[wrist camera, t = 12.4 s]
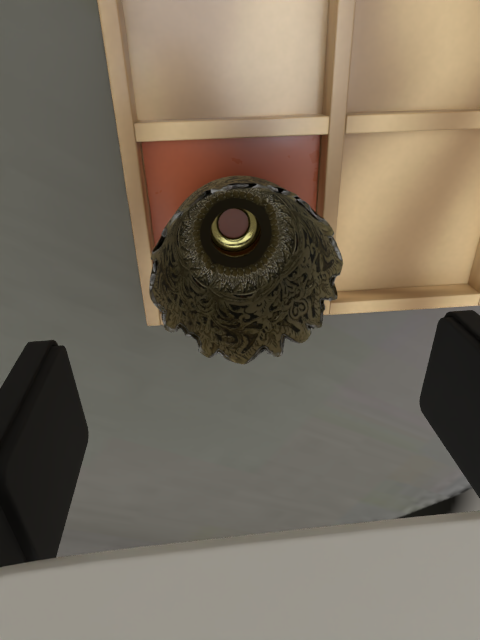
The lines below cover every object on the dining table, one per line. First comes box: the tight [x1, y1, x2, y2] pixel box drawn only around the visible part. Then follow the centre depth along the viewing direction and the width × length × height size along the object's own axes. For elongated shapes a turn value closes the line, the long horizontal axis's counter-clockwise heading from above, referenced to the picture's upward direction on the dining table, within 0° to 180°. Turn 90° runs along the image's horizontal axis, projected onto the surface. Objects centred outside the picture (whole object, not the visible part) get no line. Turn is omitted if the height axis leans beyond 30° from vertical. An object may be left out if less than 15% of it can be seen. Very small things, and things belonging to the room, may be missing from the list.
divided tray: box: [97, 0, 480, 326], centre depth 21 cm, size 20×20×2 cm
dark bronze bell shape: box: [149, 176, 343, 364], centre depth 20 cm, size 8×7×8 cm
